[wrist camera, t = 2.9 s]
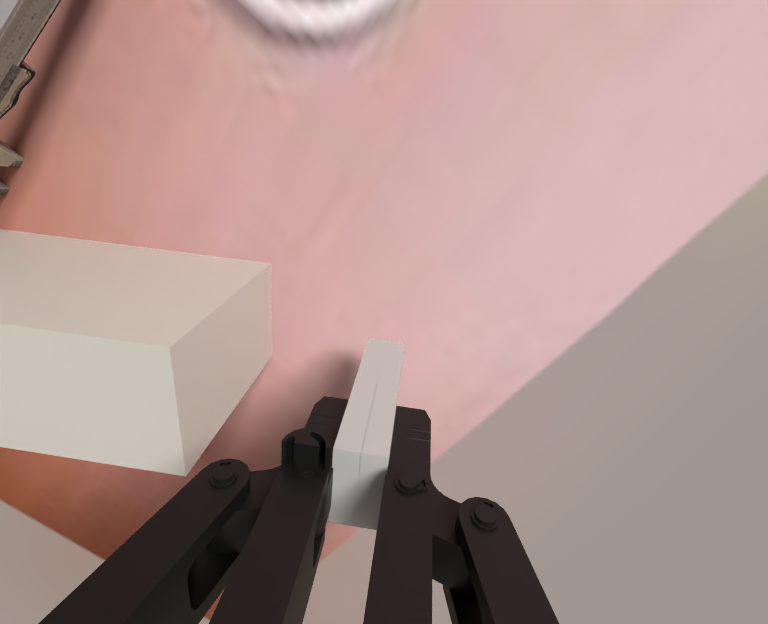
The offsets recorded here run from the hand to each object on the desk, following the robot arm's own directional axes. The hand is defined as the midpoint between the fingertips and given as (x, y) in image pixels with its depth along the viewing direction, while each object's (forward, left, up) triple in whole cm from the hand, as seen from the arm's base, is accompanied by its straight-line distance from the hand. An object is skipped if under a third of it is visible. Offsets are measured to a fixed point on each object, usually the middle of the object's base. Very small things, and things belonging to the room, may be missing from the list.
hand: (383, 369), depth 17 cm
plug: (0, -15, -4) cm, 15 cm away
